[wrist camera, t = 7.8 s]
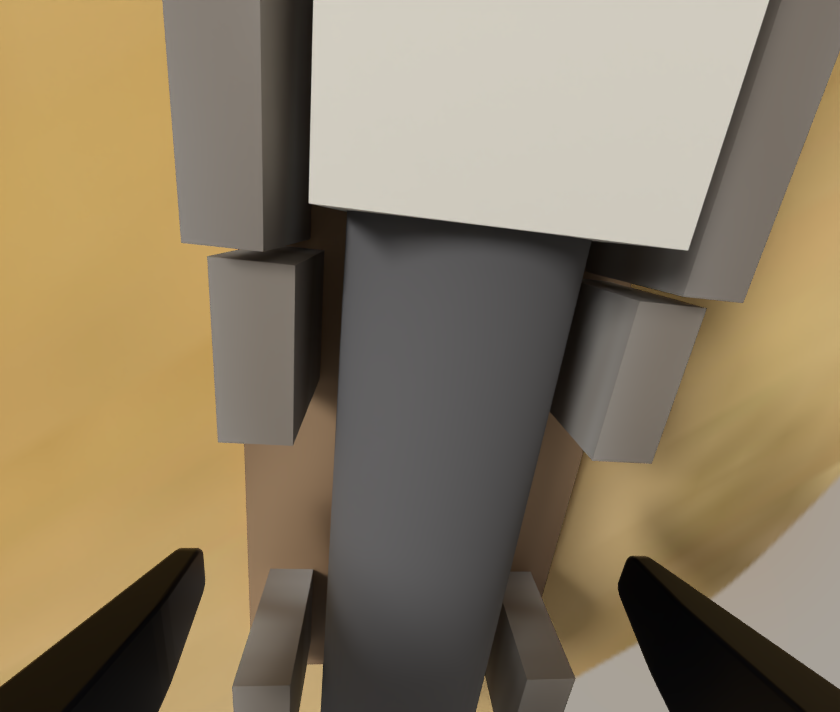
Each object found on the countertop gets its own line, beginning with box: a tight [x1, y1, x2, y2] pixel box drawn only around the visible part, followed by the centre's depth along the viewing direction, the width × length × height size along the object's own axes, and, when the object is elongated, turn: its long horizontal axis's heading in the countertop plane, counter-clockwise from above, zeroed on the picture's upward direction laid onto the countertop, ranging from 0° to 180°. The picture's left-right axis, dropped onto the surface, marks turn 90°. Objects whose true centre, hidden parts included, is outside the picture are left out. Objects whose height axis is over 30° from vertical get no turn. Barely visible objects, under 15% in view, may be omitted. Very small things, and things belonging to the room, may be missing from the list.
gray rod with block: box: [309, 0, 769, 712], centre depth 8 cm, size 18×4×4 cm, turn 173°
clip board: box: [162, 0, 840, 712], centre depth 8 cm, size 9×21×4 cm, turn 173°
